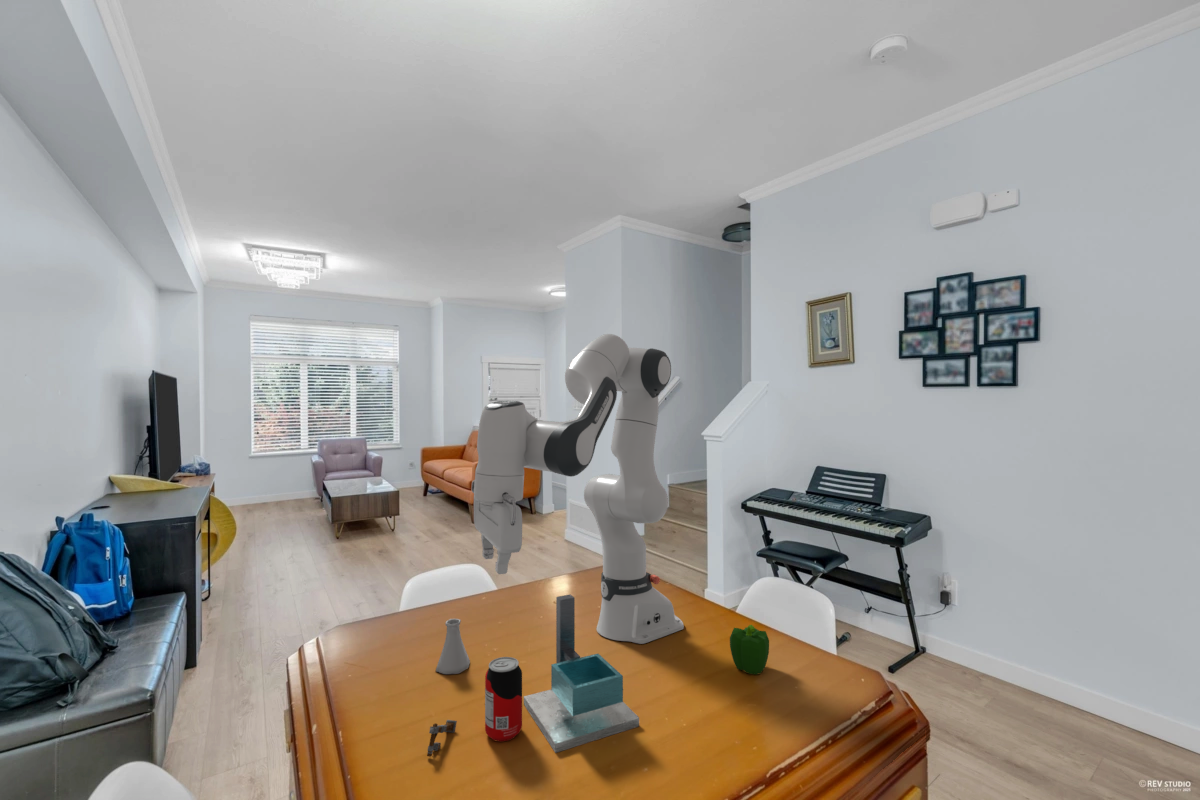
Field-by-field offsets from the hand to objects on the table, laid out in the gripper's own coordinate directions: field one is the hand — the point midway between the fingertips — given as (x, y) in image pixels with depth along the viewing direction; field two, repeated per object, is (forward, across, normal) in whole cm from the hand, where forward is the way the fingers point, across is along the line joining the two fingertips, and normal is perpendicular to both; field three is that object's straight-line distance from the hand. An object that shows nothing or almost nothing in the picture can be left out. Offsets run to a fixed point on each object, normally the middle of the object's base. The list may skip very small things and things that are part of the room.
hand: (494, 565), depth 97 cm
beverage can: (+28, -5, -2) cm, 28 cm away
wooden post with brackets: (+29, -3, +8) cm, 30 cm away
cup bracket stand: (+27, -6, -16) cm, 32 cm away
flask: (+29, +23, +1) cm, 37 cm away
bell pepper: (+25, -6, -56) cm, 62 cm away
